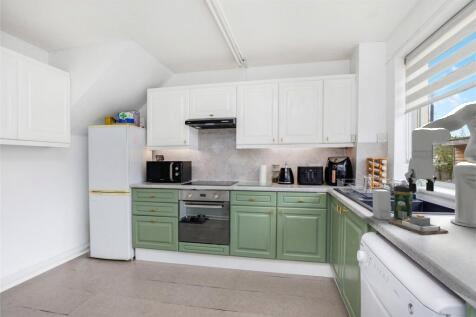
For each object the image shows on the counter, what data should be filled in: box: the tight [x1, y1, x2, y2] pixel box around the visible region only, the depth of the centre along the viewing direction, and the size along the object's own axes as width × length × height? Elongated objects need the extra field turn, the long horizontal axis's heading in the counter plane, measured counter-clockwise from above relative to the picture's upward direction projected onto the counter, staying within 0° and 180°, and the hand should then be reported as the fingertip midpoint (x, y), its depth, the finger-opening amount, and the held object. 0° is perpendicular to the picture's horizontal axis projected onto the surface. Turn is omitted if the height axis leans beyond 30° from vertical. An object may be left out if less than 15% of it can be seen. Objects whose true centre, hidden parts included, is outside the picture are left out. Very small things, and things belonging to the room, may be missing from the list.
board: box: [387, 214, 449, 236], centre depth 110 cm, size 14×18×4 cm
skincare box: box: [372, 189, 392, 221], centre depth 127 cm, size 8×7×16 cm
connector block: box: [411, 214, 431, 227], centre depth 107 cm, size 5×5×6 cm
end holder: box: [402, 221, 441, 232], centre depth 107 cm, size 10×10×2 cm
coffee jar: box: [393, 184, 413, 220], centre depth 128 cm, size 10×8×19 cm
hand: (421, 191), depth 107 cm, fingers open, 9 cm apart
